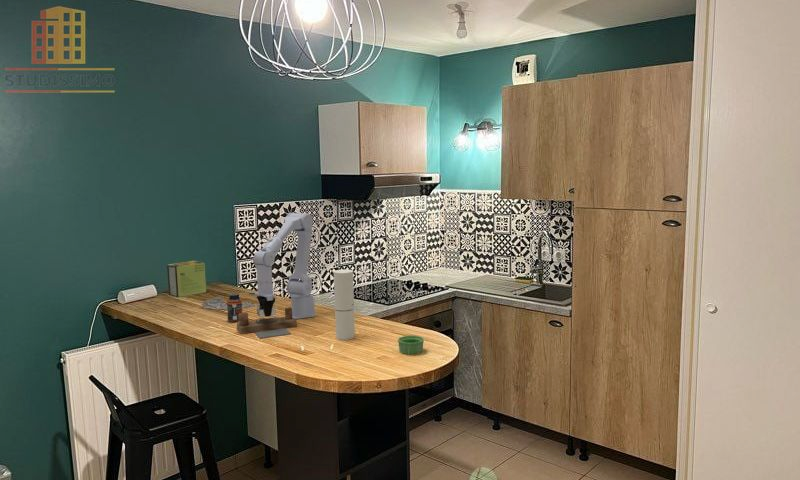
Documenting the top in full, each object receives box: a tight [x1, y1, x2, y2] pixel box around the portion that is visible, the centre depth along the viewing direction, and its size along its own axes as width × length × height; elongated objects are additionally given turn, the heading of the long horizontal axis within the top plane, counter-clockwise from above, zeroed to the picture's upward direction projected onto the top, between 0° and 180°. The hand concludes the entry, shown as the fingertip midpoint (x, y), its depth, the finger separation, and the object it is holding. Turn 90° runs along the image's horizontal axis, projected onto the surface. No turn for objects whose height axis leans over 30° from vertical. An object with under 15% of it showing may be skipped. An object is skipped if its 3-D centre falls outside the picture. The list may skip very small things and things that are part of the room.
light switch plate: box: [256, 306, 277, 318], centre depth 243 cm, size 6×4×4 cm
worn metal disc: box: [201, 292, 278, 311], centre depth 291 cm, size 33×35×1 cm
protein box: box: [166, 260, 207, 298], centre depth 310 cm, size 10×15×16 cm
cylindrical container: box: [333, 269, 356, 341], centre depth 228 cm, size 7×7×25 cm
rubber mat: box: [254, 328, 292, 339], centre depth 235 cm, size 12×8×1 cm, turn 116°
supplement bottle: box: [226, 292, 243, 323], centre depth 255 cm, size 6×6×11 cm
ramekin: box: [397, 335, 425, 355], centre depth 211 cm, size 9×9×4 cm
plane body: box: [236, 306, 298, 335], centre depth 243 cm, size 22×8×7 cm, turn 116°
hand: (266, 314), depth 243 cm, fingers closed on light switch plate, 4 cm apart
